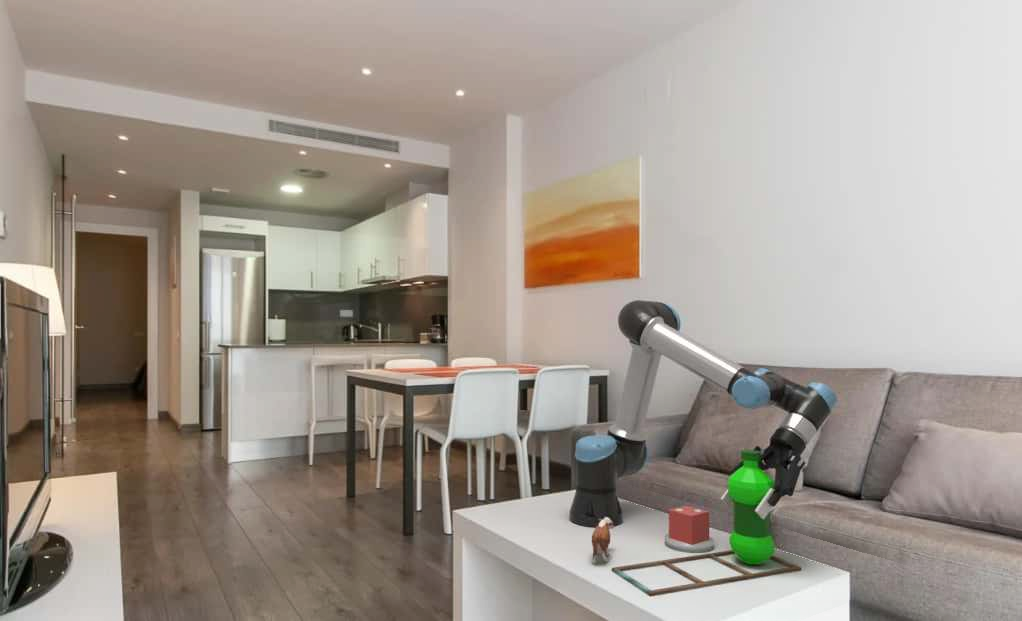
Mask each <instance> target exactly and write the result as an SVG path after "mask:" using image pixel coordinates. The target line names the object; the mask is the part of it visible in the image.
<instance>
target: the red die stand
mask: <svg viewBox="0 0 1022 621" xmlns="http://www.w3.org/2000/svg"><path fill="white" fill-rule="evenodd" d="M664 545H665V546H666V547H667V548H668V549H671V550H674V551H677V552H682V553H689V554H692V553H693V554H694V553H695V554H700V553H701V554H702V553H703V554H704V553H709V552H711V551H713V550H714V549H715V540H714V539H713V538H712V537H711V536H710V511H709V510H704V509H701V508H698V507H692V506H689V505H682V506H679V507H675V508H671V509H668V533H666V534H665V535H664Z"/></svg>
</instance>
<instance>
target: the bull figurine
mask: <svg viewBox="0 0 1022 621" xmlns="http://www.w3.org/2000/svg"><path fill="white" fill-rule="evenodd" d="M598 521H599V522H600V523H599V524H598V526H597V527H595V529H594V530H593V532H592V534H591V545H592V558H593V559H592V561H591V562H592V564H594V565H596V564H597V559H596V557H597V555H598V554H601V556H602V559H603V561H604V563H609V560H608V557H609V556H610V554H609V549H608V548H609V545H610V543H611V531H610V530H613V529H614V526H613V522H612V521H611V520H610V519H609V518H608V517H605V518H604V519H603V520H602V519H598Z"/></svg>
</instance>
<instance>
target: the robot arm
mask: <svg viewBox="0 0 1022 621" xmlns="http://www.w3.org/2000/svg"><path fill="white" fill-rule="evenodd" d="M617 318H618V319H617V324H618V328H619V331H620V333H621V334H622V335H623V336H624V337H625V338H626V339H628V340H629V341H628V343H629V344H630V346H631V347H632V348H631V349H632V350H631V354H630V358H629V363H628V367H627V371H626V376H625V380H624V382H623V383H624V384H623V389H622V393H621V396H620V400H619V404H618V409H617V412H616V413H617V414H616V416H615V422H614V423H613V424H612V425H610V426H608V429H607V433H606V434H594V435H588V436H584V437H581V438H580V439H578V440H577V442H576V444H575V452H574V457H575V492H574V497H573V499H572V502H571V506H570V509H569V521H571V522H572V523H574V524H577V525H579V526H584V527H585V526H586V527H591V528H594V527H595V528H596V527H597V526H598V524H599V523H600V522H599V521H598V519H602V520H603V519H604V518H605V517H608V518H609V519H610V520H611V521H612V522H613V527H614V526H618V525H620V524H622V523H623V517H624V516H623V515H624V514H623V510H622V507H621V503H620V501H619V498H618V493H617V479H618V478H621V477H622V478H623V477H625V476H632V475H634V474H636V473H638V472H640V471H641V470H642V469H643V468H644V467H645V466H646V464H647V462H648V460H649V448H648V446H647V443H646V441H647V435H646V434H645V432H644V428H645V424H646V421H647V420H646V419H647V415H648V411H649V406H650V403H651V399H652V395H653V390H654V388H655V381H656V378H657V374H658V371H659V370H658V369H659V366H660V361H661V357H662V356H664V357H666V358H668V359H669V360H671V361H673V362H674V363H675V364H677V365H679V366H681V367H683V368H685V369H686V370H688V371H689V372H691V373H693V374H694V375H696V376H697V377H699V378H702V379H703V380H704V381H706V382H708V383H709V384H712V385H713V386H714V387H717V388H718V389H720V390H722V391H723V392H725V393H727V394H728V395H730V396H731V397H732V398H733V400H734V402H735V403H736V404H737V405H738V406H740V408H741V407H742V408H744V409H751V410H755V409H760V408H762V407H768V406H775V407H777V408H779V409H781V410H783V411H785V412H787V414H786V416H785V417H784V418H783V419H782V421H781V422H780V424H779V425H778V428H776V429H775V430H774V432H773V433H772V435H771V437H770V438H769V445H768V446H767V447H766V448H761V447H760V446H759V445H757V446H755V447H754V448H753V450H755V451H759V452H761V460H760V461H758V467H759V468H760V469H761V470H762V471H763V472H764V471H768V470H769V469H770V470H771V469H774V470H775V474H774V475H775V476H774V484H775V485H774V486H773V488H774V489H775V491H774V490H773V489H772V488H770V490H769V491H768V492H767V494H766V495H765V497H764V498H763V499H762V501H761V502H760V504H759V505H758V507H757V508H756V510H755V512H756V513H757V514H758V515H759V516H760V517H761V519H765V517H766V516H767V514H768V513H769V511H770V512H771V510H772V508H774V507H775V506H777V504H778V503H779V502H780V500H781V499H782V498H783V497H785V496H788V497H792V496H793V495H794V493H795V489H796V487H797V483H798V480H799V477H800V474H801V470H802V469H803V467H804V466H805V465H806V462H805V461H804V459H803V458H802V457H801V456H802V454H803V453H804V451H805V450H806V448H807V446H808V445H809V444H810V442H811V441H812V439H813V438H814V437H815V435H816V434H817V432H818V431H819V429H820V428H821V426H822V425H823V423H824V422H825V421H826V420H827V418H828V417H829V416H830V415H831V414H832V411H833V410H834V407H835V406H836V404H837V402H838V396H837V394H836V392H835V391H834V390H833V389H832V388H831V387H829V386H828V385H826V384H825V383H823V382H817V381H812V382H810V383H809V384H807V385H806V386H804V385H802V384H799V383H797V382H794V381H792V380H790V379H788V378H786V377H784V376H782V375H780V374H778V373H776V372H775V371H772V370H771V371H770V370H768V369H767V368H763V367H760V368H758V369H756V371H754V372H752V371H751V370H749V369H747V368H745V367H743V366H742V365H741V364H739V363H736V362H735V361H733V360H731V359H729V358H727V357H726V356H724V355H722V354H720V353H719V352H717V351H715V350H714V349H711V348H709V347H708V346H705V345H704V344H703V343H700V342H698V341H697V340H694V339H693V338H691V337H690V336H688V335H686V334H684V333H683V332H681V331H680V330H681V318H680V315H679V313H678V312H677V310H676V309H675V308H674V307H673V306H672V305H670V304H667V303H664V302H662V301H654V300H653V301H652V300H651V301H650V300H641V299H637V300H632V301H630V302H628V303H627V304H625V305H624V306H623V307H622V308H621V309H620V311H619V314H618V316H617ZM742 466H744V460H742V461H741V462H739V463H738V464H737V465H736V466H735V467H734V468H733V469H732V470H730V472H729V474H730V476H731V475H732V474H733V473H734V472H736V471H737V470H738V469H740V468H741V467H742ZM720 500H721V501H722V502H723V504H724V505H726V507H730V506H731V505H732V503H733V498H732V497H731V496H730V494H729V492H728V488H727V487H726V490H725V492H724V493H723V494H722V496H721V497H720Z"/></svg>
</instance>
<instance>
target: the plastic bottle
mask: <svg viewBox="0 0 1022 621" xmlns="http://www.w3.org/2000/svg"><path fill="white" fill-rule="evenodd" d="M740 459H741V460H742V461H743V460H744V466H742V467H741V468H740V469H738V470H737V471H736V472H734V473H733V474H732V475H731V474H730V476H729V477H728V479H727V482H726V483H727V487H726V489H727V488H728V492H729V494H730V496H731V497H732V498H733V502H732V503H733V508H732V509H733V511H732V512H733V530H732V532H731V533H730V536H729V545H730V549H731V550H733V552H734V553H735V554H734V555H735V556H736V557H737V558H738V559H739V560H740V561H741V562H743V563H745V564H750V565H755V566H756V565H762V564H764V563H765V562H766V561H767V560H768V559H770V557H771V556H772V555H773V556H774V552H775V550H776V545H775V541H774V540H773V539H774V538H772V535H771V515H770V514H771V510H770V511H769V513H768V514H767V516H766V517H765V519H761V517H760V516H759V515H758V514H757V513H756V512H755V510H756V508H757V507H758V505H759V504H760V502H761V501H762V499H763V498H764V497H765V495H766V494H767V492H768V491H769V490H770V488H772V489H773V490H774V491H775V489H774V488H773V486H774V485H775V481H774V480H773V479H772V477H770V476H769V475H768V474H767V473H766V472H765V471H764V470H763V471H762V470H761V469H760V468H759V467H758V461H760V460H761V452H759V451H755V450H754V449H753V450H752V449H743V450H740Z"/></svg>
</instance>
